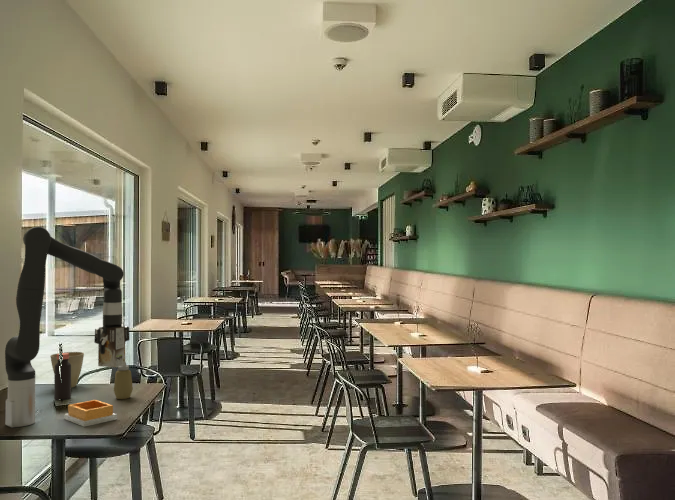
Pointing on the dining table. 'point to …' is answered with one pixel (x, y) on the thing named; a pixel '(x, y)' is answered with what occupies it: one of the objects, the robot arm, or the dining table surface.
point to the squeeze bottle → (123, 382)
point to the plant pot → (75, 362)
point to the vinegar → (62, 388)
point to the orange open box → (90, 413)
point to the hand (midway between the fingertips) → (112, 352)
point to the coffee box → (113, 348)
